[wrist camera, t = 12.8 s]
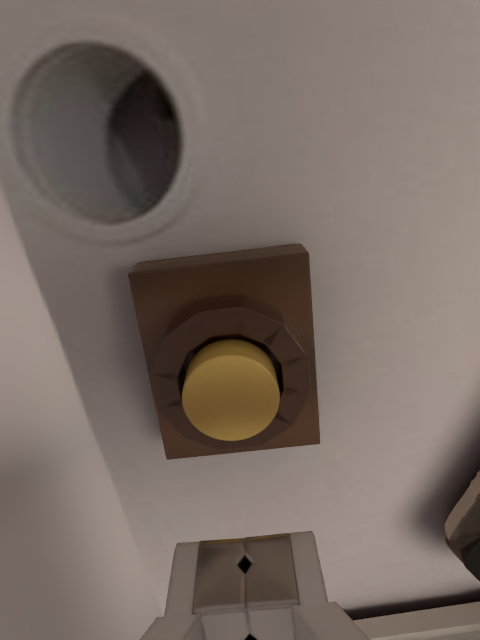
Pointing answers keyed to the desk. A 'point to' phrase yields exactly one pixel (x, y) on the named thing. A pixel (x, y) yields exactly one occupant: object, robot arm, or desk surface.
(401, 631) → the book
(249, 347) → the button
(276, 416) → the button block
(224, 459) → the desk surface
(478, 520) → the black sponge
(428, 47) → the desk surface
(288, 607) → the robot arm
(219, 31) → the desk surface
